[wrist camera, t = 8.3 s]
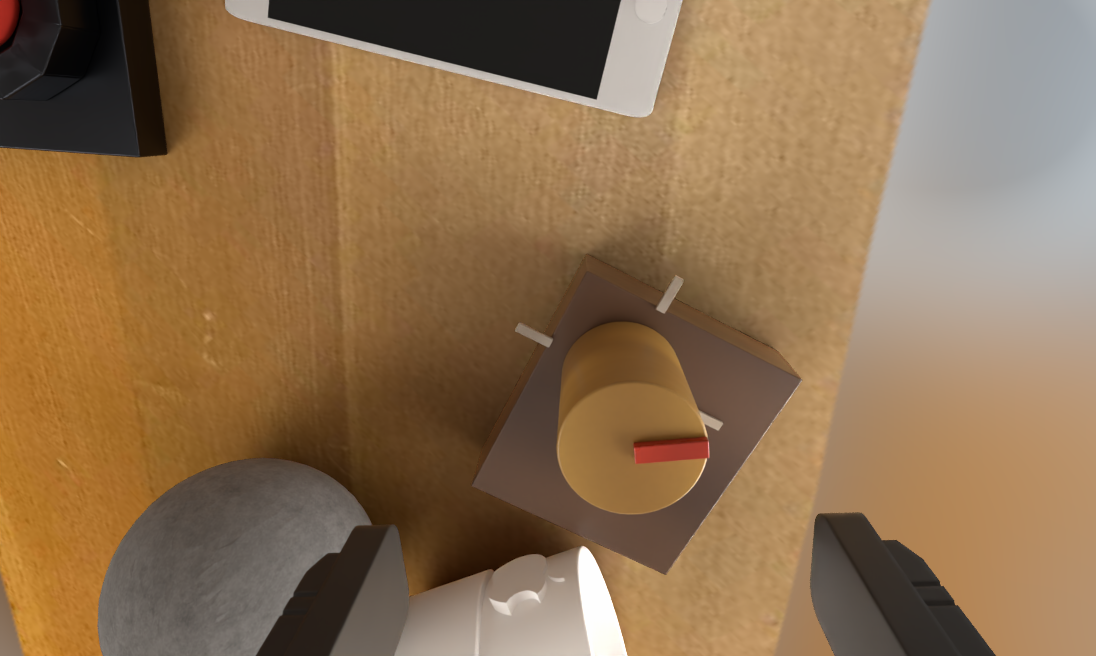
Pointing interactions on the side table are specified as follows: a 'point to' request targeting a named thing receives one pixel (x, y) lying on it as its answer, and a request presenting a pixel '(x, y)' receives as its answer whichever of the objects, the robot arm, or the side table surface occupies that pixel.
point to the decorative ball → (221, 558)
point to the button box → (81, 79)
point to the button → (8, 18)
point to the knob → (628, 421)
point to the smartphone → (503, 40)
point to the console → (714, 380)
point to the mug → (518, 612)
